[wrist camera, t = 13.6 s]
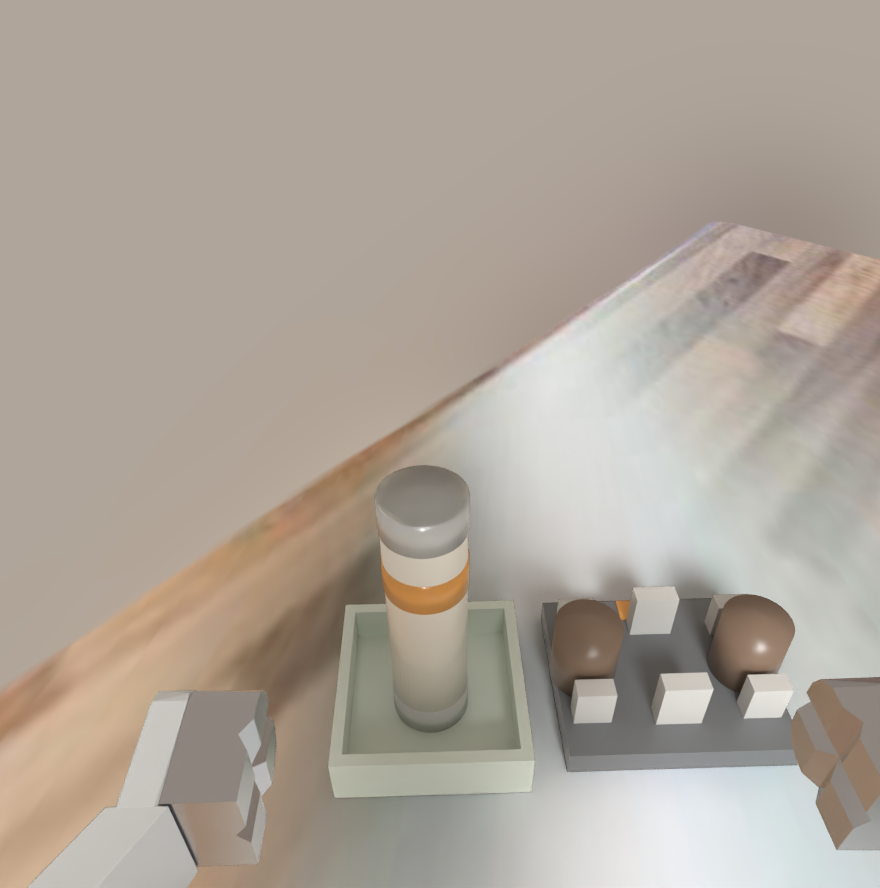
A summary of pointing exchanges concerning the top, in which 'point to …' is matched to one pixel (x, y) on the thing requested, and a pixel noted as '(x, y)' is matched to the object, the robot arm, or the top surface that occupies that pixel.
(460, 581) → the marked fuse
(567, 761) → the panel
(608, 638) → the cylinder
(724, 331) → the top surface
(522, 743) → the tray
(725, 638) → the cylinder
